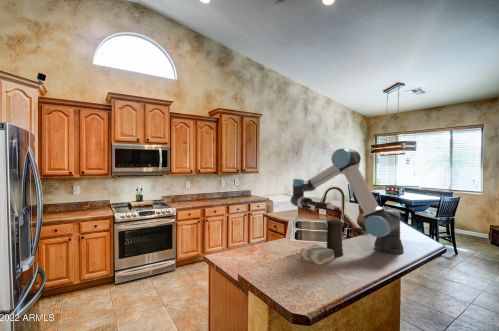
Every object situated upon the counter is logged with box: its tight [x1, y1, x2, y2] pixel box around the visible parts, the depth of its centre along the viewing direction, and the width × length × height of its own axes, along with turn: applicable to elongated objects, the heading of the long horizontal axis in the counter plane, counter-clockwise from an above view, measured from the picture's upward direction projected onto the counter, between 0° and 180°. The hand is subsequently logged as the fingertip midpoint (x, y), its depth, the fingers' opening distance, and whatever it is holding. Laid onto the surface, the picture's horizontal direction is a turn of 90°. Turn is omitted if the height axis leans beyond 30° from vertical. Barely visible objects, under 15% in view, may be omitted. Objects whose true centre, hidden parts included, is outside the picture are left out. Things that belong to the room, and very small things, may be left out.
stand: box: [300, 244, 335, 266], centre depth 133 cm, size 12×12×5 cm
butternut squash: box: [356, 203, 366, 230], centre depth 198 cm, size 14×13×25 cm
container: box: [326, 219, 344, 257], centre depth 141 cm, size 9×9×18 cm
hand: (324, 207), depth 150 cm, fingers open, 13 cm apart
